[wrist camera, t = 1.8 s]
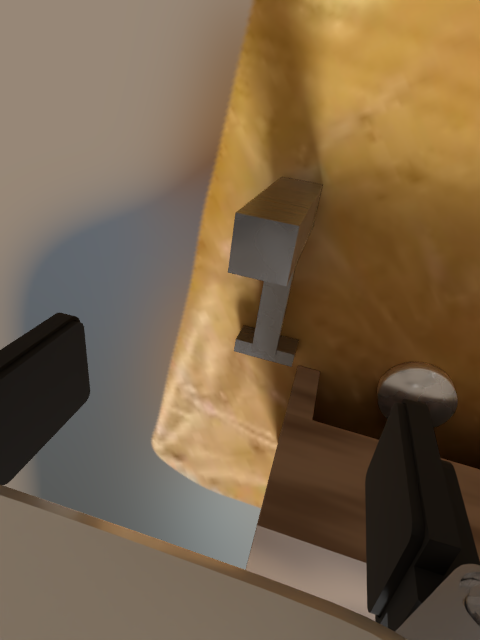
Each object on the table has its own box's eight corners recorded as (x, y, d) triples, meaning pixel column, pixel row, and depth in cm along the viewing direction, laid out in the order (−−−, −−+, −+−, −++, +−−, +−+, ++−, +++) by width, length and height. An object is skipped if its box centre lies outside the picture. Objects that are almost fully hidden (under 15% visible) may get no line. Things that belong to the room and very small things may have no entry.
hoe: (268, 174, 28) (215, 208, 18) (336, 187, 28) (321, 230, 17) (241, 336, 35) (192, 427, 25) (295, 351, 35) (267, 450, 24)
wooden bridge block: (298, 365, 35) (257, 525, 22) (539, 430, 32) (672, 669, 18) (277, 443, 40) (234, 613, 26) (484, 507, 37) (557, 740, 23)
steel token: (390, 351, 33) (391, 362, 31) (466, 371, 31) (470, 383, 30) (368, 406, 35) (368, 417, 34) (437, 425, 34) (440, 438, 33)
